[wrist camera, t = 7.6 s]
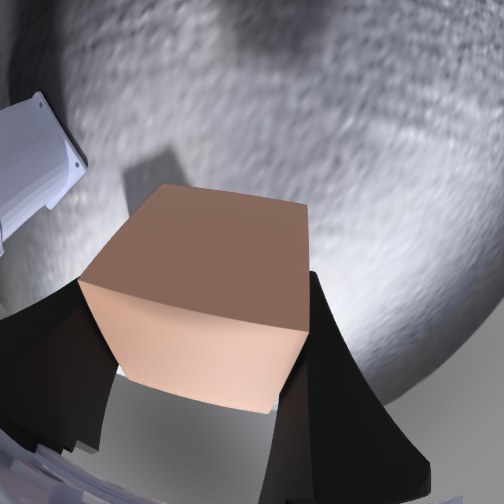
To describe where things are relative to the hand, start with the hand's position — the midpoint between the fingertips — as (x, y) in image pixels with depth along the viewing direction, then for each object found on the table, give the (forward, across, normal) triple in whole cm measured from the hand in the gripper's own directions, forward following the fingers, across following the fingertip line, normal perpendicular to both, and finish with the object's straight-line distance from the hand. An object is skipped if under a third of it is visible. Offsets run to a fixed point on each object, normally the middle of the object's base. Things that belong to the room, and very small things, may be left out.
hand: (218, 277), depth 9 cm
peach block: (+1, 0, 0) cm, 1 cm away
